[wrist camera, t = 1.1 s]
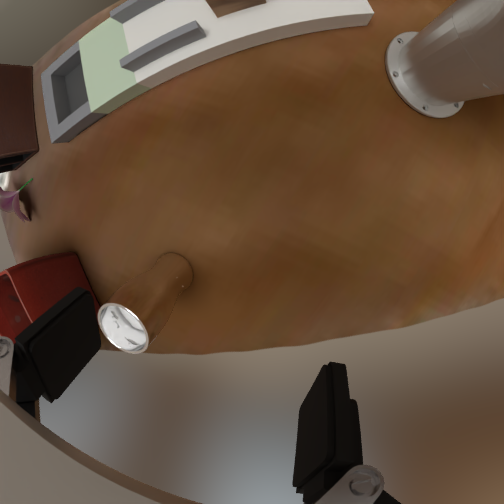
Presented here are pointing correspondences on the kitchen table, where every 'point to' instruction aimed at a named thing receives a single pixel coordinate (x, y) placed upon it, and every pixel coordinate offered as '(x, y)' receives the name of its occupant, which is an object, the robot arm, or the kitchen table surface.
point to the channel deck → (169, 50)
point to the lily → (12, 202)
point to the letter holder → (16, 117)
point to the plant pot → (37, 289)
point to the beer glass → (144, 304)
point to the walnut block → (231, 6)
